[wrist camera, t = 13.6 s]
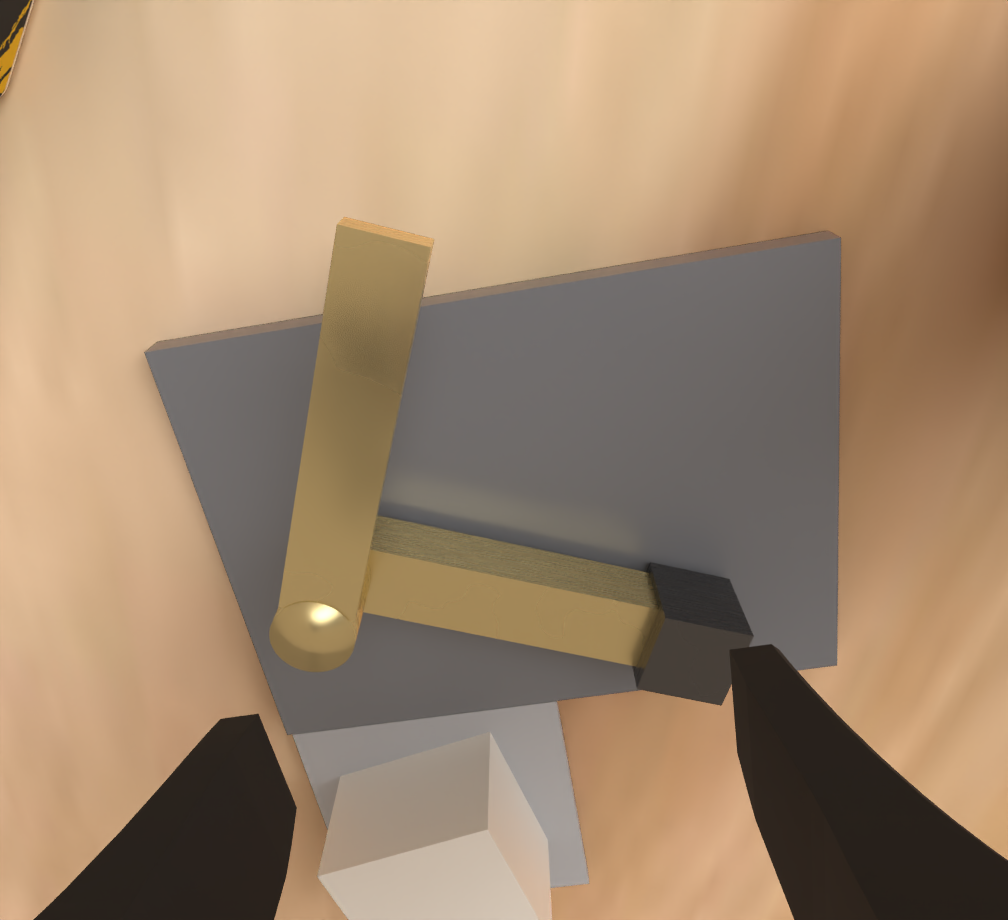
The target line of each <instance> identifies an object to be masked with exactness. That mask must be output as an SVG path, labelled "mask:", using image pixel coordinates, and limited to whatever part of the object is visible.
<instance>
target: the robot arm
mask: <svg viewBox="0 0 1008 920" xmlns="http://www.w3.org/2000/svg"><path fill="white" fill-rule="evenodd" d="M729 653H730V666H731V679H732V691H733V704H734V716H735V729H736V741H737V753H738V757H739V760H740V764H741V768H742V772H743V775H744V779H745V783H746V787H747V790H748V794H749V798H750V801H751V805H752V808H753V812H754V816H755V819H756V822H757V825H758V827H759V830H760V832H761V835H762V838H763V840H764V843H765V845H766V848H767V851H768V853H769V856H770V858H771V861H772V863H773V866H774V869H775V871H776V874H777V876H778V879H779V881H780V884H781V887H782V889H783V892H784V894H785V897H786V899H787V902H788V904H789V907H790V909H791V912H792V915H793V917H794V920H1008V860H1007V859H1005V858H1004V857H1002V856H1001V855H1000V854H998V853H997V852H995V851H994V850H993V849H991V848H990V847H988V846H987V845H986V844H985V843H983V842H982V841H981V840H979V839H978V838H977V837H975V836H974V835H973V834H971V833H970V832H969V831H968V830H966V829H965V828H964V827H962V826H961V825H960V824H958V823H957V822H956V821H955V820H953V819H952V818H951V817H950V816H948V815H947V814H946V813H945V812H943V811H942V810H941V809H940V808H939V807H937V806H936V805H935V804H934V803H933V802H931V801H930V800H929V799H928V798H927V797H925V796H924V795H923V794H922V793H921V792H920V791H918V790H917V789H916V788H915V787H914V786H913V785H912V784H910V783H909V782H908V781H907V780H906V779H905V778H904V777H902V776H901V775H900V774H899V773H898V772H897V771H896V770H894V769H893V768H892V767H891V766H890V765H889V764H888V763H887V762H886V761H885V760H884V759H883V758H881V757H880V756H879V755H878V754H877V753H876V752H875V751H874V750H873V749H872V748H871V747H870V746H869V745H868V744H867V743H866V742H865V741H864V740H863V739H862V738H861V737H860V736H859V735H858V734H856V733H855V732H854V731H853V730H852V729H851V728H850V727H849V726H848V725H847V724H846V723H845V722H844V721H843V720H842V719H841V718H840V717H839V716H838V715H837V714H836V713H835V712H834V711H833V710H832V708H831V707H830V706H829V705H828V704H827V703H826V702H825V701H824V700H823V699H822V698H821V697H820V696H819V695H818V694H817V692H816V691H815V690H814V689H813V688H812V687H811V686H810V685H809V684H808V683H807V682H806V680H805V679H804V678H803V677H802V676H801V675H800V674H799V672H798V671H797V670H796V669H795V668H794V667H793V665H792V664H791V663H790V662H789V661H788V660H787V658H786V657H785V656H784V655H783V653H782V652H781V651H780V650H779V649H778V648H776V647H775V646H774V645H772V644H767V645H760V646H753V647H745V648H738V649H731V650H729ZM296 809H297V807H296V805H295V802H294V800H293V798H292V795H291V793H290V790H289V788H288V785H287V783H286V780H285V778H284V776H283V773H282V771H281V768H280V766H279V763H278V761H277V758H276V756H275V754H274V751H273V749H272V746H271V744H270V741H269V739H268V736H267V734H266V732H265V729H264V727H263V724H262V722H261V719H260V717H259V714H254V715H247V716H239V717H232V718H225V719H220V720H219V721H218V723H217V724H216V725H215V726H214V727H213V728H212V729H211V730H210V731H209V732H208V733H207V734H206V735H205V737H204V738H203V739H202V740H201V741H200V742H199V743H198V744H197V746H196V747H195V748H194V749H193V750H192V751H191V752H190V754H189V755H188V756H187V757H186V758H185V759H184V760H183V762H182V763H181V764H180V765H179V766H178V767H177V768H176V770H175V771H174V772H173V773H172V774H171V775H170V777H169V778H168V779H167V780H166V781H165V782H164V783H163V785H162V786H161V787H160V788H159V789H158V790H157V791H156V792H155V794H154V795H153V796H152V797H151V798H150V799H149V800H148V801H147V803H146V804H145V805H144V806H143V807H142V808H141V809H140V810H139V811H138V813H137V814H136V815H135V816H134V817H133V818H132V819H131V820H130V822H129V823H128V824H127V825H126V826H125V827H124V828H123V829H122V830H121V832H120V833H119V834H118V835H117V836H116V837H115V838H114V839H113V840H112V841H111V842H110V843H109V844H108V845H107V846H106V847H105V848H104V849H103V850H102V851H101V852H100V853H99V855H98V856H97V857H96V858H95V859H94V860H93V861H92V862H91V863H90V864H89V865H88V866H87V867H86V868H85V869H84V870H83V871H82V872H81V873H80V874H79V875H78V876H77V877H76V879H75V880H74V881H73V882H72V883H71V884H70V885H69V886H68V887H67V888H66V889H65V890H64V891H63V892H62V893H61V894H60V895H59V896H58V897H57V898H56V899H55V900H54V901H53V902H52V903H51V904H50V905H49V906H48V907H46V908H45V909H44V910H43V911H42V912H41V913H40V914H39V915H38V916H37V917H36V918H35V919H34V920H274V918H275V914H276V911H277V907H278V903H279V900H280V896H281V893H282V889H283V885H284V882H285V878H286V874H287V868H288V862H289V856H290V850H291V845H292V838H293V830H294V823H295V816H296Z"/></svg>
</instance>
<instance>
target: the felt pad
mask: <svg viewBox="0 0 1008 920" xmlns="http://www.w3.org/2000/svg"><path fill="white" fill-rule="evenodd" d="M487 732H491V734H492V736H493V738H494V740H495V742H496V744H497V745H498V747H499V749H500V751H501V753H502V755H503V757H504V759H505V760H506V762H507V764H508V766H509V768H510V770H511V772H512V774H513V775H514V777H515V779H516V781H517V783H518V785H519V787H520V789H521V791H522V792H523V794H524V796H525V798H526V800H527V802H528V804H529V806H530V807H531V809H532V811H533V813H534V815H535V817H536V819H537V821H538V823H539V824H540V826H541V828H542V830H543V832H544V834H545V836H546V838H547V839H548V851H549V870H550V888H554V887H563V886H572V885H581V884H589V877H588V868H587V863H586V857H585V852H584V846H583V841H582V835H581V830H580V824H579V819H578V813H577V808H576V802H575V797H574V791H573V786H572V780H571V775H570V769H569V763H568V758H567V752H566V747H565V741H564V736H563V730H562V725H561V719H560V714H559V708H558V703H557V701H551V702H543V703H535V704H527V705H520V706H512V707H504V708H496V709H488V710H480V711H472V712H464V713H456V714H448V715H441V716H433V717H425V718H417V719H409V720H401V721H393V722H385V723H377V724H369V725H362V726H354V727H346V728H338V729H330V730H322V731H314V732H306V733H298V734H293V738H294V741H295V743H296V746H297V749H298V752H299V754H300V757H301V760H302V762H303V765H304V768H305V770H306V773H307V776H308V779H309V781H310V784H311V787H312V789H313V792H314V795H315V797H316V800H317V803H318V806H319V808H320V811H321V814H322V816H323V819H324V822H325V825H326V827H327V830H328V827H329V823H330V819H331V814H332V810H333V806H334V802H335V797H336V793H337V789H338V784H339V780H340V776H343V775H346V774H349V773H353V772H356V771H359V770H363V769H366V768H370V767H373V766H376V765H380V764H383V763H386V762H390V761H393V760H396V759H400V758H403V757H407V756H410V755H413V754H417V753H420V752H423V751H427V750H430V749H434V748H437V747H440V746H444V745H447V744H450V743H454V742H457V741H460V740H464V739H467V738H471V737H474V736H477V735H481V734H484V733H487Z"/></svg>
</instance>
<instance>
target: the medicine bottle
mask: <svg viewBox="0 0 1008 920" xmlns="http://www.w3.org/2000/svg"><path fill="white" fill-rule="evenodd" d="M33 4H34V0H0V97H1V96H2V95H3V94H4V93H5V91H6V90H7V88H8V84H9V81H10V78H11V75H12V71H13V68H14V65H15V62H16V59H17V55H18V52H19V49H20V46H21V42H22V39H23V36H24V33H25V29H26V26H27V23H28V20H29V16H30V13H31V10H32V7H33Z"/></svg>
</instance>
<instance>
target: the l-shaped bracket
mask: <svg viewBox="0 0 1008 920" xmlns="http://www.w3.org/2000/svg"><path fill="white" fill-rule="evenodd" d="M433 243H434V239H432V238H427V237H423V236H419V235H415V234H411V233H407V232H403V231H399V230H395V229H391V228H387V227H383V226H379V225H375V224H371V223H367V222H363V221H359V220H355V219H351V218H347V217H344V218H343V219H342V220H341V221H340V222H339V223H338V224H337V227H336V234H335V240H334V247H333V253H332V260H331V266H330V273H329V280H328V286H327V293H326V299H325V306H324V312H323V319H322V325H321V332H320V338H319V345H318V351H317V358H316V364H315V371H314V377H313V384H312V391H311V397H310V404H309V410H308V417H307V423H306V430H305V436H304V443H303V449H302V456H301V462H300V469H299V475H298V482H297V488H296V495H295V501H294V508H293V515H292V521H291V528H290V534H289V541H288V547H287V554H286V560H285V567H284V573H283V580H282V586H281V593H280V599H279V606H278V609H277V612H276V614H275V616H274V619H273V621H272V624H271V626H270V630H269V638H270V643H271V645H272V648H273V649H274V651H275V653H276V654H277V655H278V656H279V657H280V658H281V659H282V660H283V661H284V662H286V663H287V664H289V665H290V666H292V667H294V668H297V669H300V670H303V671H308V672H324V671H329V670H333V669H335V668H337V667H339V666H341V665H342V664H344V663H345V662H346V661H347V660H348V659H349V657H350V656H351V654H352V652H353V649H354V646H355V642H356V638H357V634H358V630H359V627H360V623H361V619H362V615H363V612H365V613H370V614H375V615H380V616H385V617H390V618H395V619H400V620H405V621H410V622H415V623H420V624H425V625H430V626H435V627H440V628H445V629H450V630H455V631H460V632H465V633H470V634H475V635H480V636H485V637H490V638H495V639H500V640H505V641H510V642H515V643H520V644H525V645H530V646H535V647H540V648H545V649H550V650H555V651H560V652H566V653H571V654H576V655H581V656H586V657H591V658H596V659H601V660H606V661H611V662H616V663H621V664H626V665H631V666H632V667H633V672H634V677H635V682H636V687H637V689H640V690H645V691H650V692H655V693H660V694H665V695H670V696H675V697H681V698H686V699H691V700H696V701H701V702H706V703H711V704H716V705H722V703H723V701H724V699H725V697H726V695H727V693H728V690H729V688H730V686H731V684H732V679H731V666H730V653H729V650H731V649H738V648H745V647H749V646H750V643H751V641H752V639H753V637H754V635H753V633H752V631H751V628H750V626H749V624H748V621H747V619H746V617H745V614H744V612H743V610H742V607H741V605H740V602H739V600H738V598H737V595H736V593H735V591H734V588H733V586H732V584H731V581H730V579H727V578H723V577H718V576H713V575H709V574H704V573H699V572H694V571H690V570H685V569H680V568H676V567H671V566H666V565H662V564H657V563H652V562H650V563H649V565H648V568H647V571H646V572H644V571H639V570H634V569H629V568H625V567H620V566H615V565H611V564H606V563H601V562H596V561H592V560H587V559H582V558H577V557H573V556H568V555H563V554H559V553H554V552H549V551H544V550H540V549H535V548H530V547H526V546H521V545H516V544H511V543H507V542H502V541H497V540H492V539H488V538H483V537H478V536H474V535H469V534H464V533H459V532H455V531H450V530H445V529H440V528H436V527H431V526H426V525H422V524H417V523H412V522H407V521H403V520H398V519H393V518H388V517H384V516H379V515H378V512H379V507H380V502H381V497H382V492H383V487H384V482H385V477H386V473H387V468H388V463H389V458H390V453H391V448H392V443H393V438H394V434H395V429H396V424H397V419H398V414H399V409H400V404H401V399H402V394H403V390H404V385H405V380H406V375H407V370H408V365H409V360H410V355H411V351H412V346H413V341H414V336H415V331H416V326H417V321H418V316H419V312H420V307H421V302H422V297H423V292H424V287H425V282H426V277H427V273H428V268H429V263H430V258H431V253H432V248H433Z"/></svg>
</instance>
